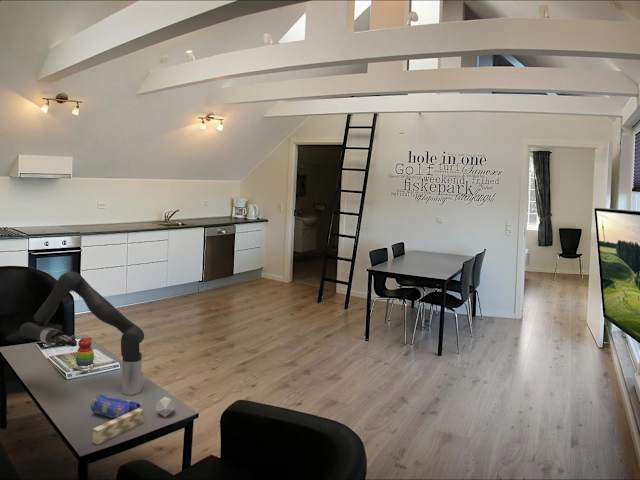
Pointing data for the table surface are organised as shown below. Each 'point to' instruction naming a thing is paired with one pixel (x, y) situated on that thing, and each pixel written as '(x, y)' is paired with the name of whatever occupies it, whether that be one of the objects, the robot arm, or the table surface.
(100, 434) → the birch board
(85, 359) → the stacking bear
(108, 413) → the pencil case
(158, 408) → the die
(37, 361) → the table surface
